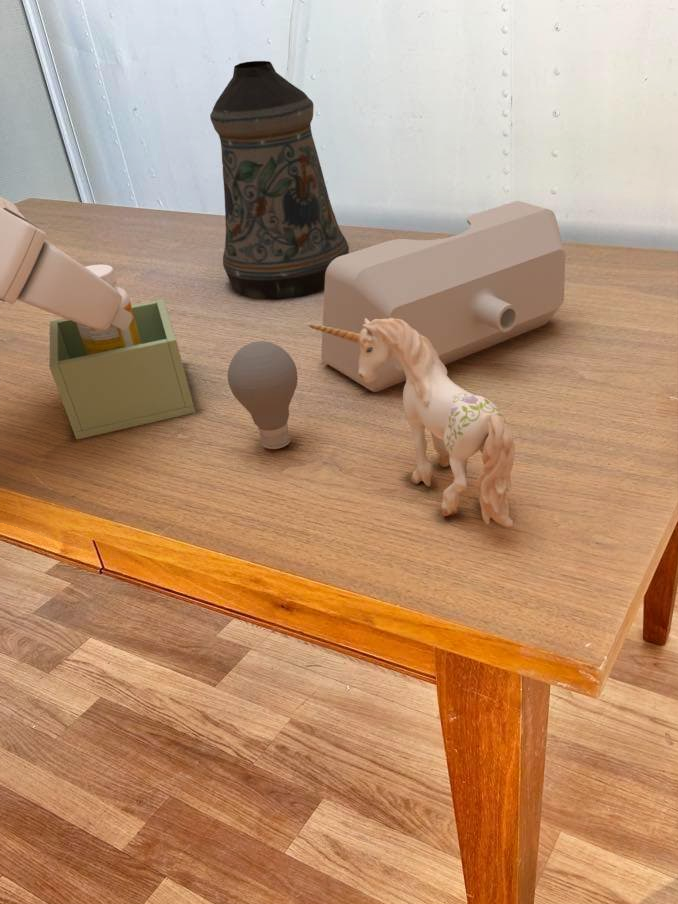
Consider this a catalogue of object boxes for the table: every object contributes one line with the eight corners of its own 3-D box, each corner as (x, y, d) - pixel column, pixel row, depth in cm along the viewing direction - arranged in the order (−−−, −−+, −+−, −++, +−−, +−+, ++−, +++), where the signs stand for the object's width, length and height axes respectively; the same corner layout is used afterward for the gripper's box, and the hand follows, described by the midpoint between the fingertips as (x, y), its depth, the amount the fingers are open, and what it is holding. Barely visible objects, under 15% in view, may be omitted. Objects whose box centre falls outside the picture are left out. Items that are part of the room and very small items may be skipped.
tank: (407, 421, 79) (394, 292, 72) (320, 366, 90) (302, 249, 83) (598, 339, 90) (605, 219, 82) (500, 299, 101) (498, 190, 93)
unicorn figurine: (387, 434, 78) (371, 293, 70) (562, 508, 66) (568, 350, 58) (329, 468, 74) (305, 323, 66) (504, 553, 62) (502, 391, 54)
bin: (76, 440, 82) (49, 366, 77) (74, 390, 91) (49, 321, 86) (195, 412, 84) (176, 339, 79) (181, 366, 93) (163, 298, 88)
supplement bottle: (123, 350, 88) (96, 258, 82) (157, 361, 86) (131, 266, 80) (81, 371, 85) (49, 276, 79) (115, 382, 82) (85, 285, 76)
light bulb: (232, 459, 76) (207, 357, 70) (263, 426, 81) (242, 327, 75) (291, 467, 74) (271, 362, 68) (319, 433, 79) (303, 332, 73)
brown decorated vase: (286, 310, 103) (245, 82, 88) (189, 283, 114) (138, 75, 99) (376, 267, 113) (354, 54, 98) (279, 245, 124) (245, 50, 109)
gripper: (-85, 250, 78) (49, 317, 89) (3, 301, 65) (147, 371, 76) (-56, 188, 77) (75, 262, 88) (38, 226, 65) (178, 308, 76)
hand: (109, 313), depth 82 cm, fingers closed on supplement bottle, 5 cm apart
